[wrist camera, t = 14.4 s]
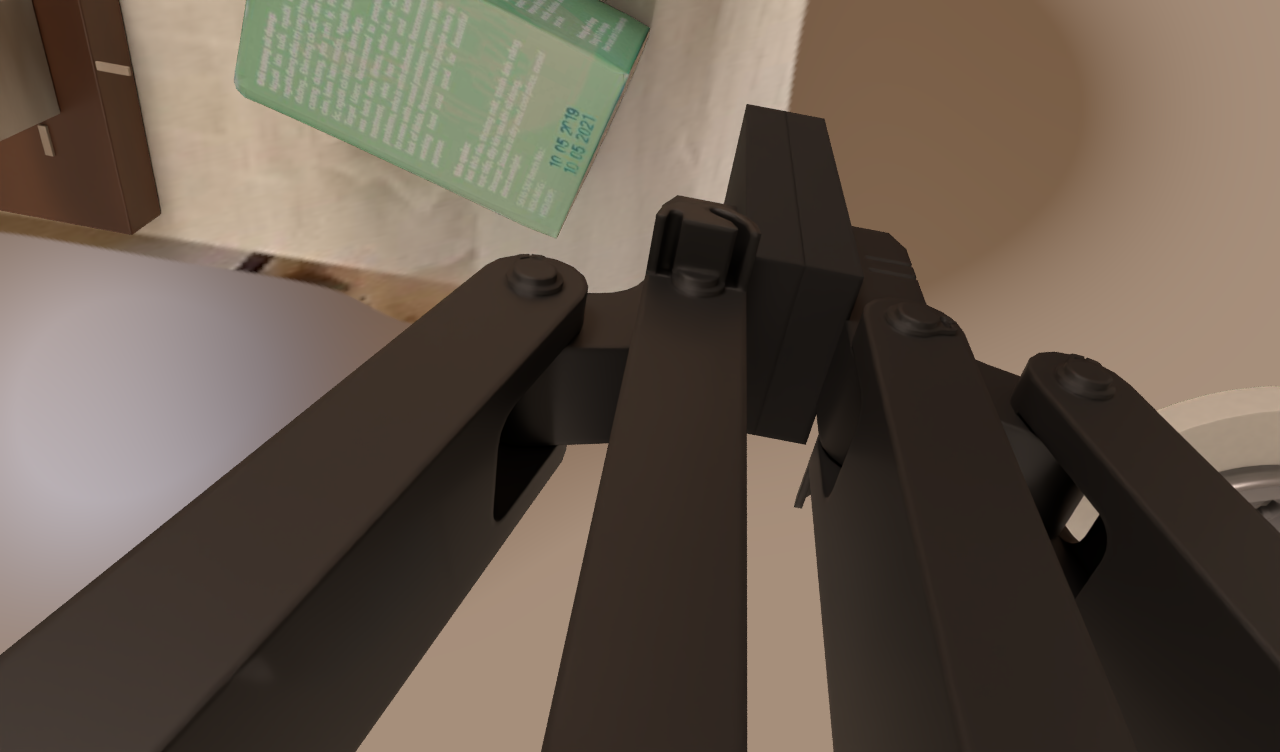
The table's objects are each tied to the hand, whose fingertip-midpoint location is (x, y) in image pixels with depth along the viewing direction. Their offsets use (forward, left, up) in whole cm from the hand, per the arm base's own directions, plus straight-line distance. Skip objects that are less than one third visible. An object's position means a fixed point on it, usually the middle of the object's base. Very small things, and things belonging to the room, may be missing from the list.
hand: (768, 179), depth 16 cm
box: (-7, +9, -21) cm, 24 cm away
